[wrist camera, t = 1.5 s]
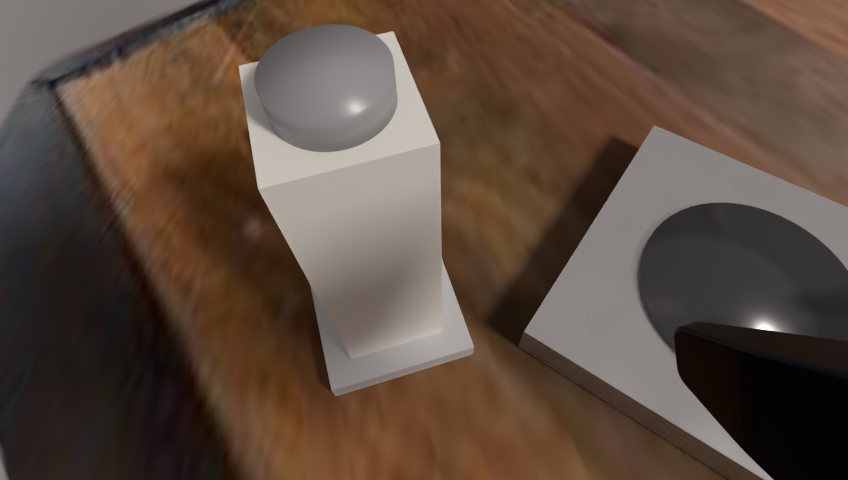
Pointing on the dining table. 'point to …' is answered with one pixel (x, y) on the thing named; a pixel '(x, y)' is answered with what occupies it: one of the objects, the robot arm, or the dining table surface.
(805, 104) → the dining table surface
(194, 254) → the dining table surface
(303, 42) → the white pedestal with button
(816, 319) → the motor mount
